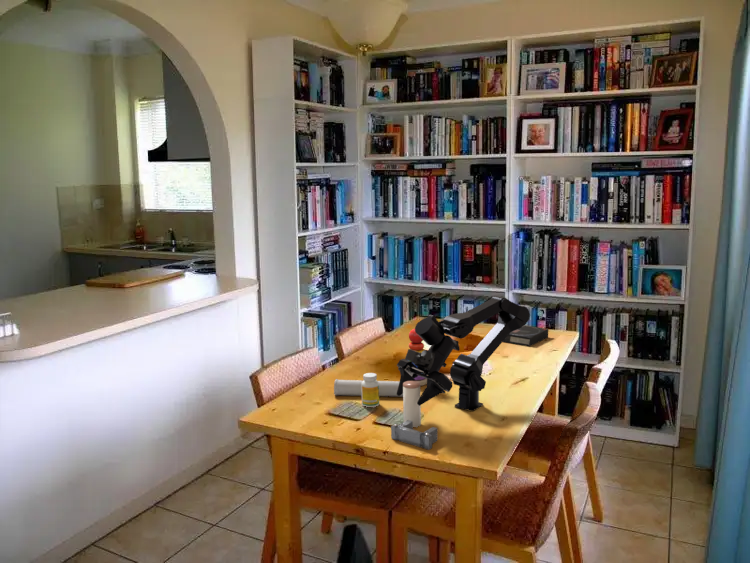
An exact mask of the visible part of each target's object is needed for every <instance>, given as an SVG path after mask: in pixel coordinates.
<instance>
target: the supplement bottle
mask: <svg viewBox="0 0 750 563" xmlns="http://www.w3.org/2000/svg"><path fill="white" fill-rule="evenodd" d="M362 378H363V382H362V383H361V391H362V396H361V405H362V407H364V406H366V407H365V408H367V407H373V408H376V406H377V407H378V406H379V405H380V396H379V382H378V381H379V380H377V373H374V372H367V373H363V376H362Z"/></svg>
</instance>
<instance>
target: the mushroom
mask: <svg viewBox="0 0 750 563" xmlns="http://www.w3.org/2000/svg"><path fill="white" fill-rule="evenodd" d="M420 396H421V386H420V382H418V381H406V382H404V383H403V397H402V401H403V409H402V410H403V423H404V422H405V421H407V420H410V421H413V427H416V428H418V426H419V427H421V425H422V422H421V421H422V419H421V418H422V416H421V415H422V412H421V410H422V408H421V407H422V405H420V406H419V405H418V404H417V402H418V400H419V398H420Z"/></svg>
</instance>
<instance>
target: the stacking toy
mask: <svg viewBox="0 0 750 563" xmlns="http://www.w3.org/2000/svg"><path fill="white" fill-rule="evenodd" d="M408 339H409V341H410V342H409V343H408V349H410V350H413V351H416V352H419V353H422V352H423V351H424V350H425V348H424V347H425V344H424V340H423V339H422V338H421V337H420V336H419V335H418V334H417V333H416V332H415V328H413V329H411V330H410V331H409V333H408ZM408 361H409V360H408ZM412 363H413V362H412ZM413 364H414V363H413ZM414 365H415V364H414ZM415 366H416V365H415ZM416 367H417V366H416ZM422 374H423V373H422ZM414 379H415V381H418V382H420V387H422V386H425V385H427V379H426V378H423V377H421V376H418V377H416V378H414Z"/></svg>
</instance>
